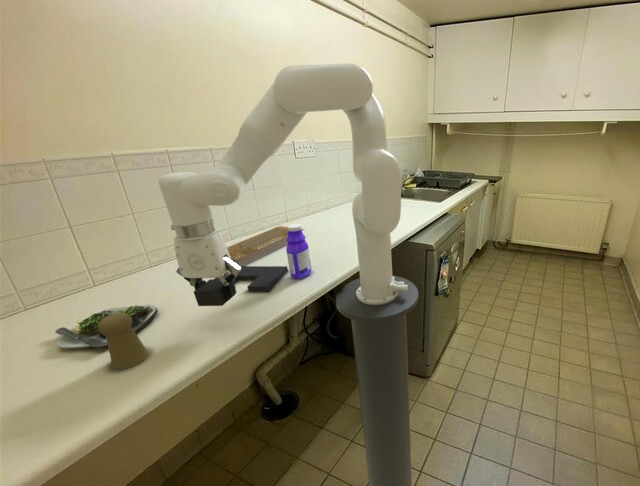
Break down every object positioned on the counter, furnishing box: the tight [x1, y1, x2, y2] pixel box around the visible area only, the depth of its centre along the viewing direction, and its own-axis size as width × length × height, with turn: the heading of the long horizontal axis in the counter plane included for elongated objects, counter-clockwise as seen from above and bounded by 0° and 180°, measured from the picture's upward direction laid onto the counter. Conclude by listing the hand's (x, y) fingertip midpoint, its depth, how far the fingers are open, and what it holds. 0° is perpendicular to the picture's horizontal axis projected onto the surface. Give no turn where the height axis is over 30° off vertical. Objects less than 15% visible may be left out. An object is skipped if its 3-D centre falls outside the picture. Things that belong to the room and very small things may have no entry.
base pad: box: [214, 265, 289, 293], centre depth 101 cm, size 20×14×2 cm
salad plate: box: [54, 304, 159, 349], centre depth 77 cm, size 19×18×5 cm
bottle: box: [285, 223, 312, 280], centre depth 101 cm, size 7×6×17 cm
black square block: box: [193, 278, 237, 307], centre depth 76 cm, size 6×6×4 cm
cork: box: [98, 313, 149, 370], centre depth 66 cm, size 6×6×11 cm
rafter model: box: [227, 225, 305, 266], centre depth 126 cm, size 35×14×6 cm, turn 158°
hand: (217, 297), depth 76 cm, fingers closed on black square block, 6 cm apart
